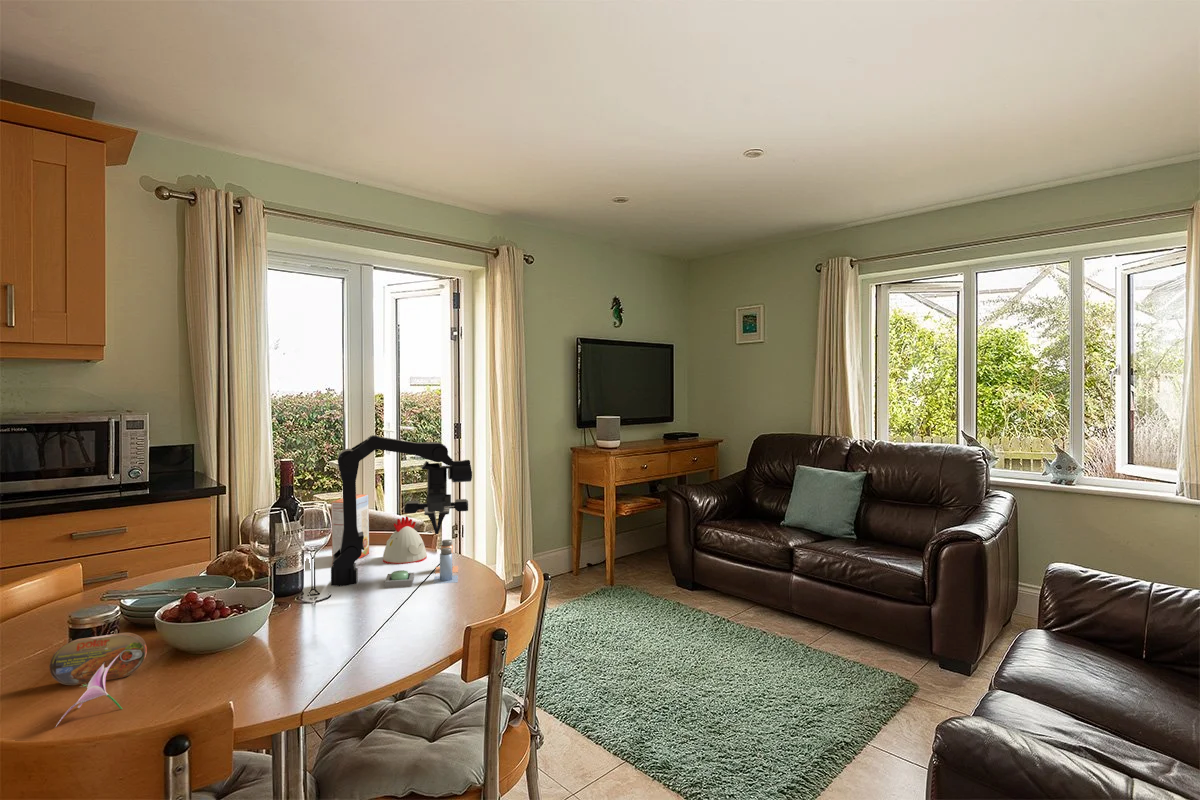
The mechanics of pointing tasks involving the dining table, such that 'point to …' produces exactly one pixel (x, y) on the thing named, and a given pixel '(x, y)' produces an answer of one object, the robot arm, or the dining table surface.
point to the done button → (399, 575)
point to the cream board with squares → (409, 581)
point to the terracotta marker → (448, 545)
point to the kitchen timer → (404, 544)
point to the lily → (95, 688)
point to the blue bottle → (445, 564)
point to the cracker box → (362, 522)
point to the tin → (98, 658)
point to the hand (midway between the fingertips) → (436, 533)
